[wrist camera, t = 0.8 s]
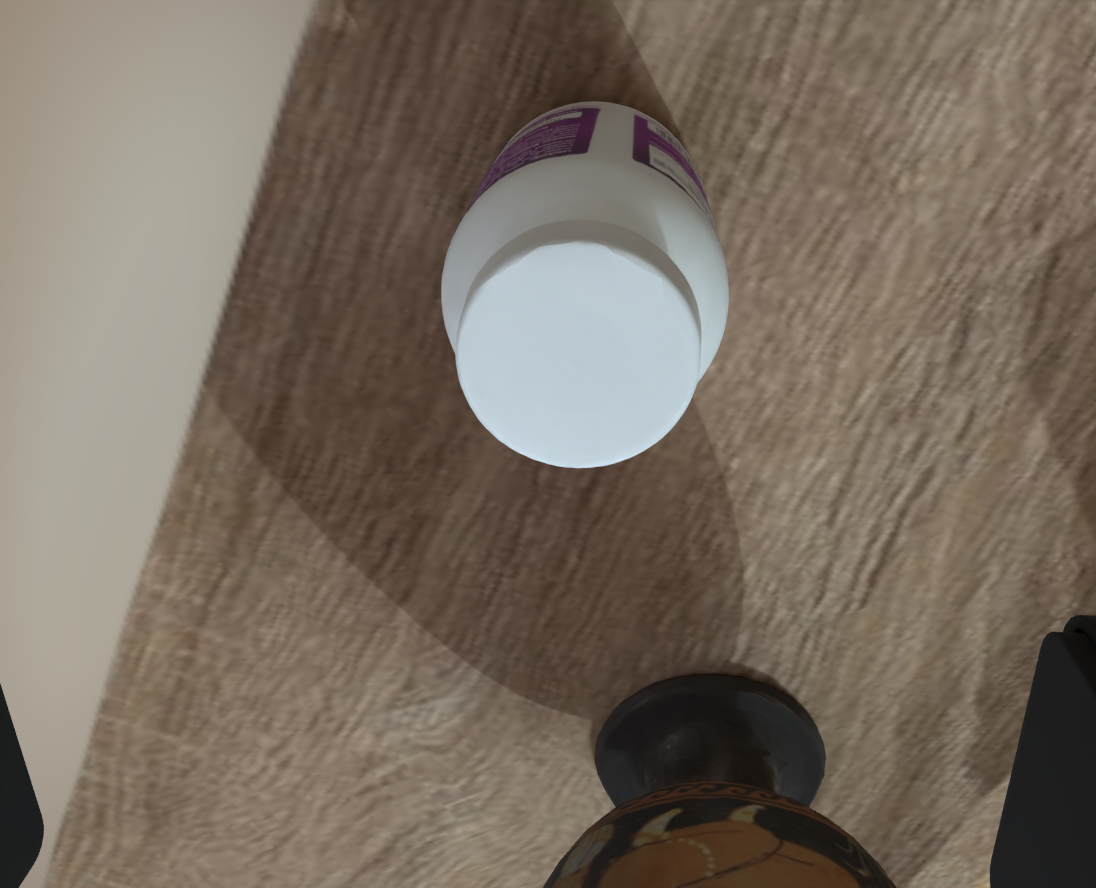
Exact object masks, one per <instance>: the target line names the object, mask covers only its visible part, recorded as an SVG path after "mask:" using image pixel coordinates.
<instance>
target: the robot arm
mask: <svg viewBox="0 0 1096 888" xmlns="http://www.w3.org/2000/svg"><path fill="white" fill-rule="evenodd" d="M43 834H44V825H43V819H42V815H41V812H40V809H39V805H38V802H37V799H36V796H35V793H34V790H33V786H32V784H31V780H30V777H29V774H28V770H27V767H26V764H25V761H24V758H23V754H22V751H21V748H20V745H19V742H18V739H17V736H16V732H15V729H14V726H13V722H12V719H11V716H10V713H9V710H8V707H7V704H6V700H5V697H4V694H3V691H2V688H1V684H0V888H19V886H20V885H21V883H22V882H23V880H24V878H25V877H26V875H27V874H28V872H29V871H30V869H31V868H32V866H33V865H34V862H35V861H36V859H37V857H38V855H39V852H40V849H41V846H42V841H43ZM990 886H991V888H1096V616H1091V615H1077V616H1074V617H1072V618H1070V620H1069V621H1068V622H1067V624H1066V625H1065V628H1064V631H1063V632H1051V633H1048V634H1047V635H1046V637H1045V638H1044V640H1043V643H1042V645H1041V649H1040V653H1039V657H1038V662H1037V666H1036V670H1035V675H1034V679H1033V683H1032V687H1031V692H1030V696H1029V700H1028V705H1027V709H1026V713H1025V717H1024V722H1023V726H1022V730H1021V735H1020V739H1019V743H1018V747H1017V752H1016V756H1015V760H1014V765H1013V769H1012V773H1011V777H1010V782H1009V786H1008V790H1007V795H1006V799H1005V803H1004V807H1003V812H1002V816H1001V820H1000V825H999V829H998V833H997V837H996V842H995V846H994V850H993V855H992V859H991V865H990Z"/></svg>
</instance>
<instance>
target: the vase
mask: <svg viewBox="0 0 1096 888" xmlns="http://www.w3.org/2000/svg"><path fill="white" fill-rule="evenodd" d="M825 760H826V755H825V750H824V744H823V741H822V738H821V736H820V734H819V731H818V729H817V727H816V726H815V724H814V723H813V721H812V719H811V718H810V717H809V716H808V715H807V714H806V713H805V712H804V710H802V709H801V708H800V707H799V706H798V705H797V704H796V703H795V702H794V701H793V700H791V699H790V698H789V697H787V696H786V695H784V694H783V693H782V692H780V691H778V690H776V689H774V688H772V687H770V686H767V685H764V684H761V683H758V682H755V681H751V680H748V679H744V678H740V677H730V676H720V675H697V676H688V677H680V678H676V679H672V680H667V681H663V682H659V683H655V684H653V685H651V686H649V687H647V688H645V689H643V690H641V691H640V692H638V693H636V694H635V695H633V696H631V697H630V698H628V699H626V700H625V701H623V702H622V703H621V704H620V705H619V706H618V707H617V708H616V709H615V710H614V711H613V713H612V714H611V715H610V717H609V718H608V720H607V721H606V723H605V725H604V726H603V728H602V730H601V733H600V735H599V737H598V740H597V744H596V753H595V761H596V766H597V771H598V775H599V777H600V780H601V782H602V785H603V787H604V788H605V790H606V792H607V794H608V795H609V797H610V799H611V800H612V802H613V803H614V805H615V807H616V808H615V809H613V810H612V811H611V812H609V813H608V814H607V815H605V816H604V817H603V818H601V819H600V820H599V821H597V822H596V823H595V824H594V825H592V826H591V827H590V828H589V829H587V830H586V831H585V832H584V833H583V835H582V836H581V837H580V838H579V839H578V840H577V842H576V843H575V844H574V845H573V846H572V847H571V849H570V850H569V851H568V852H567V853H566V855H565V856H564V857H563V858H562V859H561V860H560V862H559V863H558V865H557V866H556V868H555V869H554V871H553V872H552V874H551V876H550V877H549V879H548V880H547V882H546V884H545V885H544V887H543V888H896V886H895V885H894V884H893V882H892V881H891V879H890V878H889V877H888V875H887V874H886V873H885V871H884V870H883V869H882V867H881V866H880V865H879V864H878V863H877V862H876V861H875V860H874V859H873V857H872V856H871V855H870V854H869V853H868V852H867V851H866V850H865V849H864V848H863V847H862V846H861V845H860V844H859V843H858V842H857V841H856V840H855V839H854V838H853V837H852V836H851V835H849V834H848V833H847V832H845V831H844V830H843V829H841V828H840V827H839V826H837V825H836V824H835V823H833V822H832V821H831V820H829V819H828V818H826V817H825V816H823V815H821V814H820V813H818V812H816V811H814V810H812V809H811V808H809V806H810V804H811V802H812V801H813V799H814V797H815V796H816V793H817V791H818V789H819V786H820V784H821V782H822V779H823V777H824V769H825Z"/></svg>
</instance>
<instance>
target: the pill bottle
mask: <svg viewBox="0 0 1096 888" xmlns="http://www.w3.org/2000/svg"><path fill="white" fill-rule="evenodd" d="M441 300H442V310H443V318H444V323H445V327H446V331H447V334H448V337H449V340H450V343H451V345H452V348H453V350H454V352H455V354H456V367H457V373H458V377H459V381H460V385H461V387H462V390H463V392H464V395H465V397H466V400H467V401H468V403H469V405H470V407H471V408H472V410H473V412H474V413H475V415H476V416H477V418H478V419H479V421H480V422H481V423H482V424H483V425H484V427H485V428H486V429H487V430H489V431H490V432H491V433H492V434H493V435H494V436H495V437H496V438H497V439H498V440H500V441H501V442H502V443H504V444H505V445H506V446H508V447H509V448H511V449H513V450H515V451H516V452H518V453H520V454H522V455H525V456H527V457H529V458H531V459H534V460H537V461H540V462H544V463H546V464H550V465H555V466H559V467H568V468H591V467H599V466H606V465H610V464H614V463H617V462H620V461H623V460H625V459H629V458H631V457H633V456H635V455H637V454H639V453H641V452H643V451H644V450H646V449H648V448H649V447H651V446H652V445H654V444H655V443H657V442H658V441H659V440H660V439H661V438H663V437H664V436H665V435H666V434H667V433H668V432H669V431H670V430H671V429H672V428H673V426H674V425H675V424H676V423H677V422H678V420H679V419H680V418H681V416H682V415H683V413H684V412H685V410H686V408H687V406H688V405H689V403H690V400H691V398H692V396H693V393H694V391H695V388H696V385H697V383H698V382H699V380H700V379H701V378H702V376H703V375H704V374H705V372H706V370H707V369H708V367H709V365H710V364H711V362H712V360H713V358H714V356H715V354H716V353H717V350H718V348H719V345H720V342H721V340H722V337H723V333H724V329H725V325H726V320H727V314H728V305H729V286H728V275H727V268H726V263H725V258H724V253H723V250H722V247H721V244H720V241H719V239H718V236H717V233H716V228H715V224H714V220H713V218H712V215H711V212H710V208H709V205H708V201H707V197H706V194H705V190H704V186H703V183H702V180H701V178H700V175H699V173H698V170H697V168H696V166H695V164H694V162H693V161H692V159H691V157H690V155H689V154H688V152H687V151H686V150H685V148H684V147H683V145H682V144H681V143H680V142H679V140H678V139H677V138H676V137H674V136H673V134H672V133H671V132H670V131H669V130H668V129H666V128H665V127H664V126H663V125H662V124H660V123H659V122H658V121H656V120H655V119H653V118H651V117H649V116H647V115H646V114H644V113H642V112H640V111H638V110H636V109H633V108H630V107H627V106H623V105H619V104H614V103H609V102H596V101H591V102H579V103H573V104H568V105H565V106H562V107H559V108H556V109H552V110H550V111H548V112H546V113H544V114H542V115H540V116H538V117H537V118H535V119H534V120H532V121H531V122H529V123H528V124H527V125H525V126H524V127H523V128H522V129H520V130H519V131H518V132H517V133H516V134H515V135H514V136H513V137H512V138H511V139H510V141H509V142H508V143H507V145H506V146H505V147H504V149H503V150H502V151H501V153H500V154H499V155H498V157H497V158H496V160H495V162H494V163H493V165H492V167H491V168H490V170H489V172H488V173H487V175H486V177H485V178H484V180H483V181H482V183H481V185H480V187H479V189H478V191H477V193H476V194H475V196H474V198H473V200H472V202H471V203H470V205H469V207H468V208H467V211H466V213H465V214H464V216H463V217H462V219H461V220H460V222H459V224H458V226H457V229H456V231H455V233H454V235H453V237H452V240H451V243H450V246H449V248H448V251H447V255H446V259H445V263H444V269H443V273H442V283H441Z"/></svg>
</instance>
